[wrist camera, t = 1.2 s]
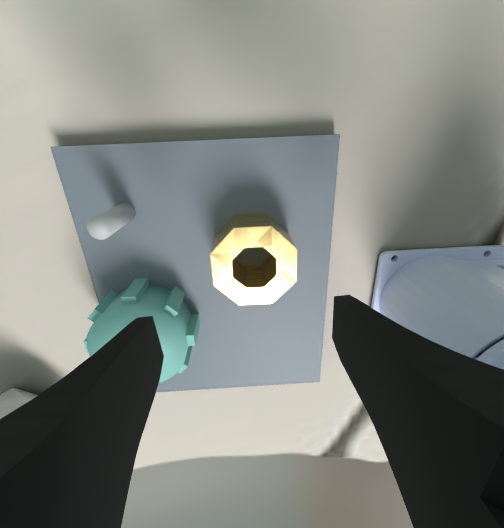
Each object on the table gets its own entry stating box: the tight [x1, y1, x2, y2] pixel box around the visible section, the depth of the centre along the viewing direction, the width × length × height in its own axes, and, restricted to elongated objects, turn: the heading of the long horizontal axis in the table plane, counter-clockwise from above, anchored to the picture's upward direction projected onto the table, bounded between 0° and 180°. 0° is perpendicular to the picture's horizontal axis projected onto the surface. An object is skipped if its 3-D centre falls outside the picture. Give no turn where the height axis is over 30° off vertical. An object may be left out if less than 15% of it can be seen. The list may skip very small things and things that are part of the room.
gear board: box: [51, 134, 340, 392], centre depth 19 cm, size 17×20×5 cm
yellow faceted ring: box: [210, 213, 297, 305], centre depth 18 cm, size 5×5×3 cm
